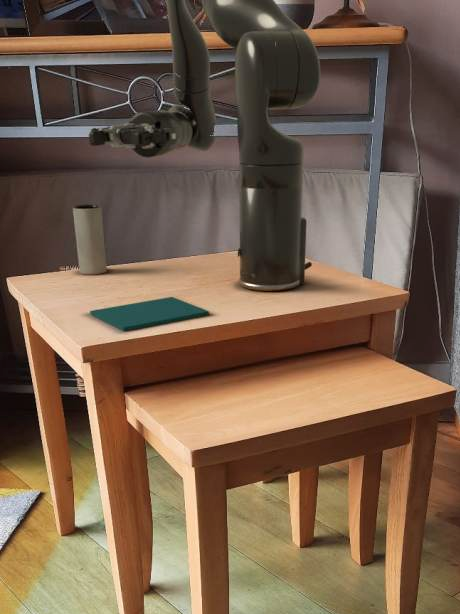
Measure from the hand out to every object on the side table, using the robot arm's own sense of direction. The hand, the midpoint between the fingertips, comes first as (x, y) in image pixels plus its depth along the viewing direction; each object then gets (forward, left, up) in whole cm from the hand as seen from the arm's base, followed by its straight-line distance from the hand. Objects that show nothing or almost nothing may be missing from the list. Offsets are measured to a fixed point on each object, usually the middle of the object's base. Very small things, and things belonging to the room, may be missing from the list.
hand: (114, 139), depth 125 cm
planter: (+9, +6, -20) cm, 23 cm away
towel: (+15, +36, -19) cm, 43 cm away
